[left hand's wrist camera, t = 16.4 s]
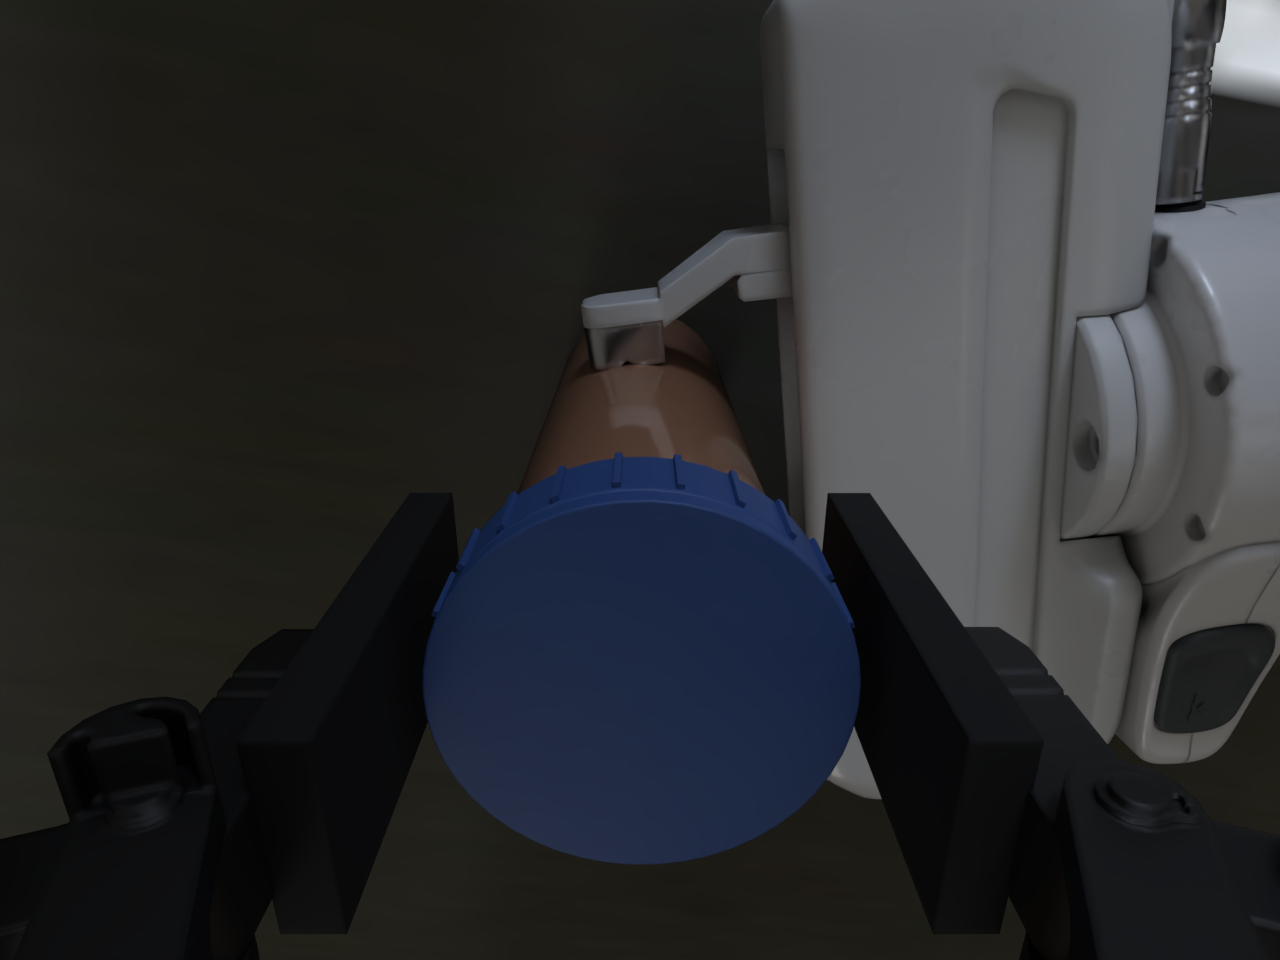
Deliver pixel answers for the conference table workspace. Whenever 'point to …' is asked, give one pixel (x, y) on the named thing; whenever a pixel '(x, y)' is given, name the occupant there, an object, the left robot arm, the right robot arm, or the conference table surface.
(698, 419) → the jar
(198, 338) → the conference table surface
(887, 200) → the right robot arm
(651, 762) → the lid
